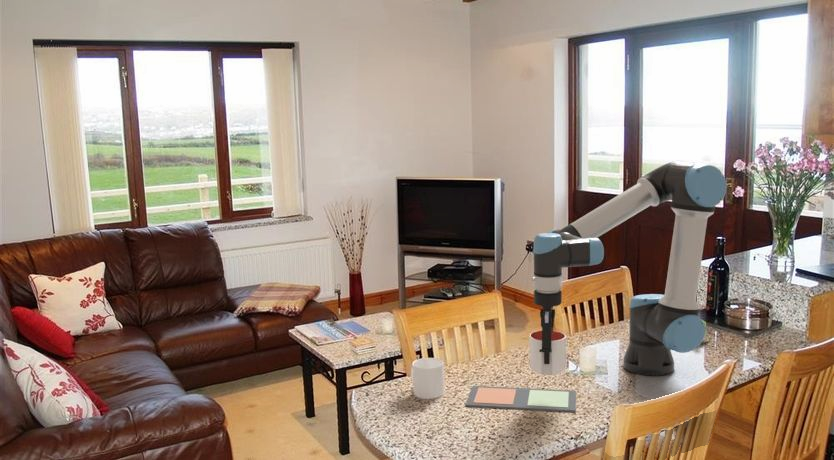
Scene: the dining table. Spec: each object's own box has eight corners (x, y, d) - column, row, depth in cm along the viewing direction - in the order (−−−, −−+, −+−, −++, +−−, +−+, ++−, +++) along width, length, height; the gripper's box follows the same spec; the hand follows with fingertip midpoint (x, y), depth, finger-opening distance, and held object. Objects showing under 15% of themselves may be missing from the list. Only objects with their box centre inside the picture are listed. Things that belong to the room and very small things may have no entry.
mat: (575, 392, 210) (575, 390, 210) (575, 412, 197) (575, 409, 197) (472, 387, 217) (472, 385, 217) (465, 406, 204) (465, 404, 204)
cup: (566, 377, 198) (566, 341, 196) (528, 375, 200) (528, 340, 198) (566, 364, 208) (566, 330, 206) (530, 363, 210) (530, 329, 208)
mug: (450, 394, 212) (449, 364, 211) (423, 402, 208) (422, 370, 206) (429, 382, 222) (427, 353, 221) (403, 388, 218) (401, 359, 216)
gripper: (536, 279, 212) (536, 353, 215) (531, 300, 190) (531, 381, 194) (562, 280, 210) (562, 354, 214) (560, 301, 188) (560, 383, 192)
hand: (547, 367), depth 204 cm, fingers closed on cup, 10 cm apart
